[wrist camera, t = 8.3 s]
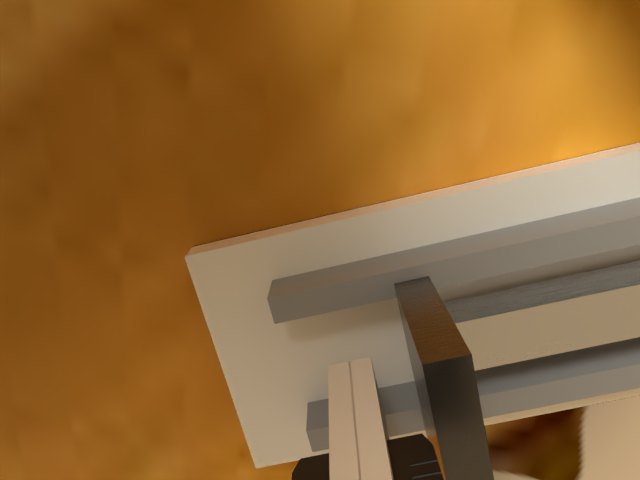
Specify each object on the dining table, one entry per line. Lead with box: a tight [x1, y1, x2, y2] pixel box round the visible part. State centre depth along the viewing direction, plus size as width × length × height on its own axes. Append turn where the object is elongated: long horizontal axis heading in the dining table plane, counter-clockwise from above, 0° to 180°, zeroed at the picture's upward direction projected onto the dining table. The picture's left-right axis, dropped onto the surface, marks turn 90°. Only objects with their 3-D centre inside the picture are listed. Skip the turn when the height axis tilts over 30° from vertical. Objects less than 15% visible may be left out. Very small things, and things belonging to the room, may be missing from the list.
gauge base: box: [184, 142, 640, 469], centre depth 18 cm, size 26×10×6 cm, turn 104°
